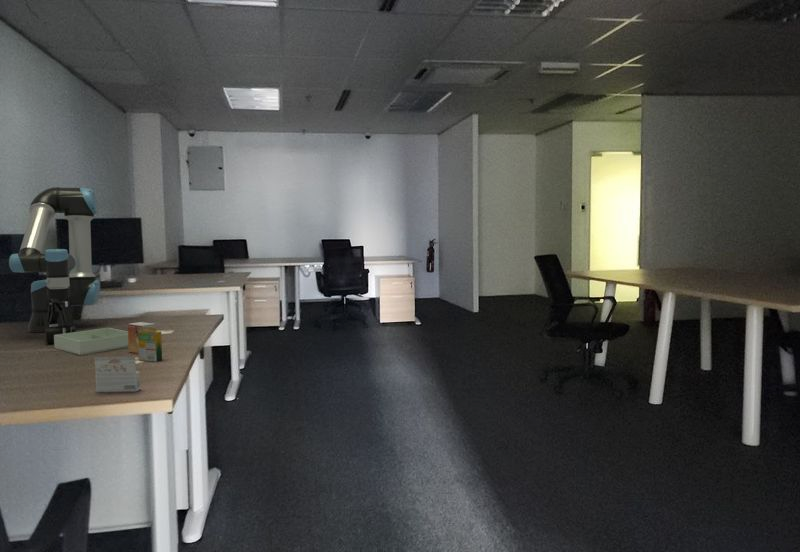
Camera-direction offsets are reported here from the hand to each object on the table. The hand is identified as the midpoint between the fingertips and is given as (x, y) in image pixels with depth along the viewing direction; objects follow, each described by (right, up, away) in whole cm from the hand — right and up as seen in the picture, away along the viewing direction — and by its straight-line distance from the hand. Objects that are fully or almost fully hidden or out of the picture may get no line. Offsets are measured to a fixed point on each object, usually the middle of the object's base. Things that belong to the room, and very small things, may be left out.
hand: (60, 341), depth 208 cm
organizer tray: (+19, -1, -9) cm, 21 cm away
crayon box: (+51, -3, -31) cm, 59 cm away
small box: (+41, -2, -18) cm, 45 cm away
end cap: (0, -1, 0) cm, 1 cm away
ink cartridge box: (+59, -5, -67) cm, 89 cm away
